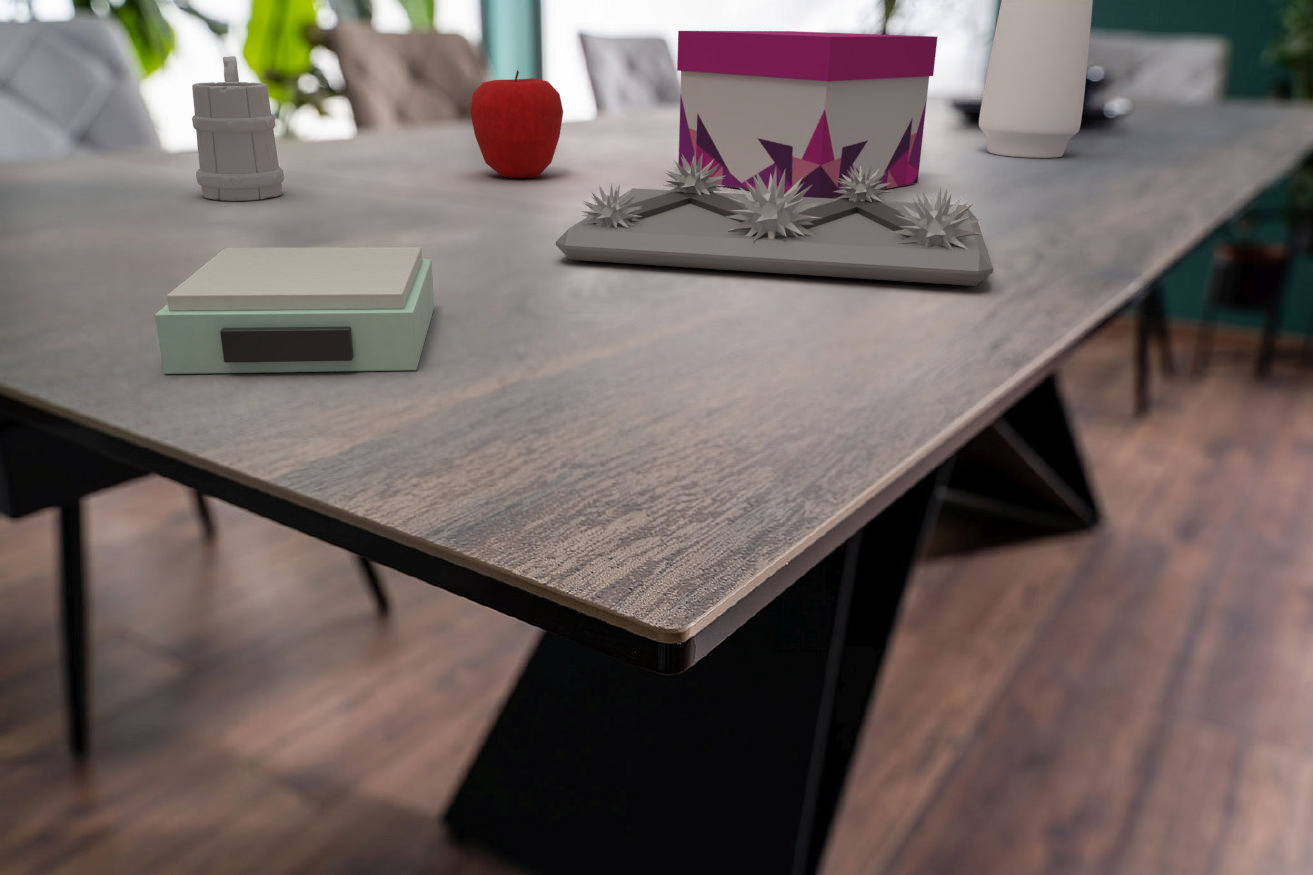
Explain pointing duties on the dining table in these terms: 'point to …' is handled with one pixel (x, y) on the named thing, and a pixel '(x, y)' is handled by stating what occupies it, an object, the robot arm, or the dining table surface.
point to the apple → (517, 125)
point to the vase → (1036, 77)
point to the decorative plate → (783, 230)
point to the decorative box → (803, 106)
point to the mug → (235, 139)
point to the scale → (299, 311)
